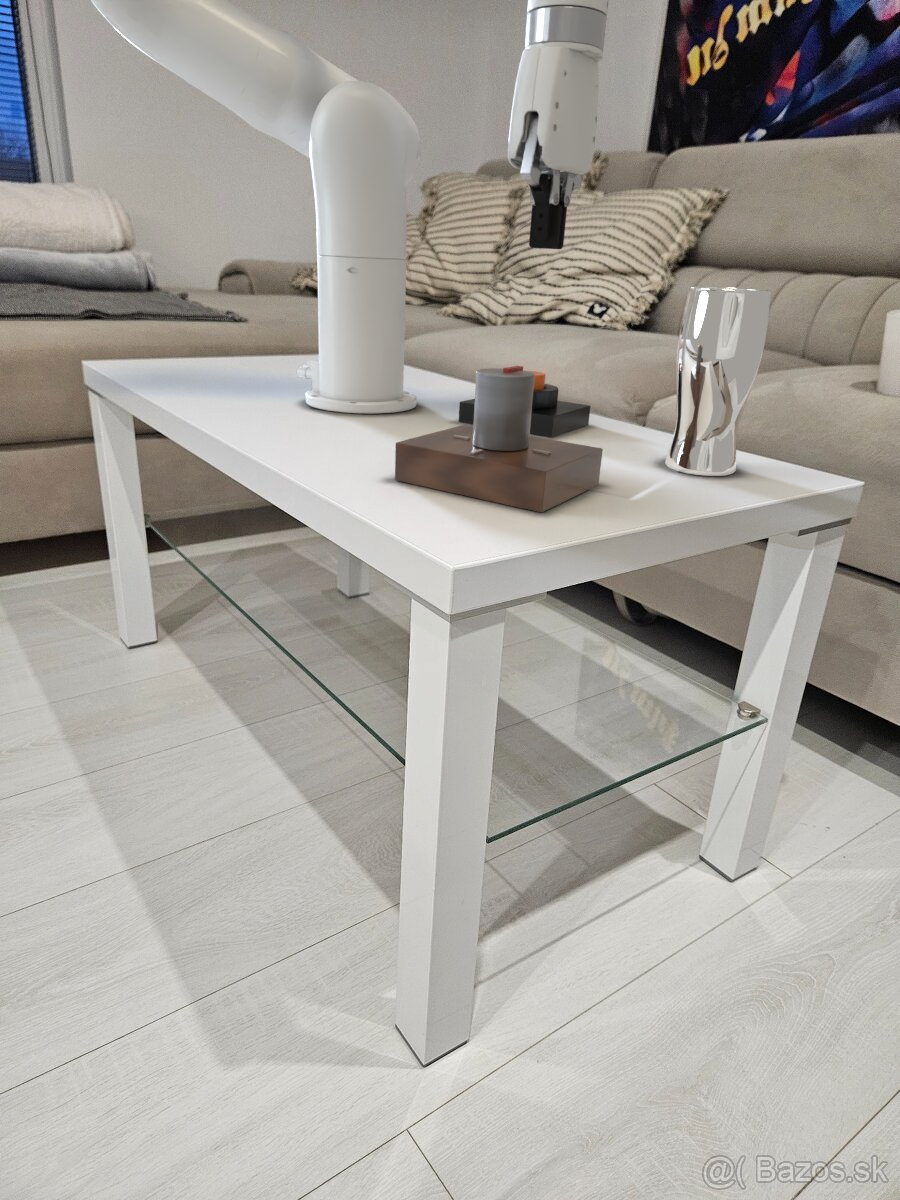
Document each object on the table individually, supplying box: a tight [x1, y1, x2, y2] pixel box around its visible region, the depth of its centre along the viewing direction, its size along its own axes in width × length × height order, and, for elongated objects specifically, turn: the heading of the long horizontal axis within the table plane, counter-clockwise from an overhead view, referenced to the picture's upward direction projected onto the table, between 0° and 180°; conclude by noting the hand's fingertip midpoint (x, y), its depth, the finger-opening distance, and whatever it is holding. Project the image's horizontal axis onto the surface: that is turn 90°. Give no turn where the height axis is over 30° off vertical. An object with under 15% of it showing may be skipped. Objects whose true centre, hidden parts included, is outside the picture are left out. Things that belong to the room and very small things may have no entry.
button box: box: [458, 383, 591, 439], centre depth 88 cm, size 11×9×4 cm
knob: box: [472, 365, 535, 451], centre depth 63 cm, size 4×4×6 cm
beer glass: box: [664, 285, 773, 477], centre depth 70 cm, size 7×7×15 cm
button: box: [527, 370, 546, 390], centre depth 87 cm, size 4×4×2 cm
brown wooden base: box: [394, 424, 604, 514], centre depth 65 cm, size 13×10×3 cm
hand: (545, 248), depth 86 cm, fingers closed
